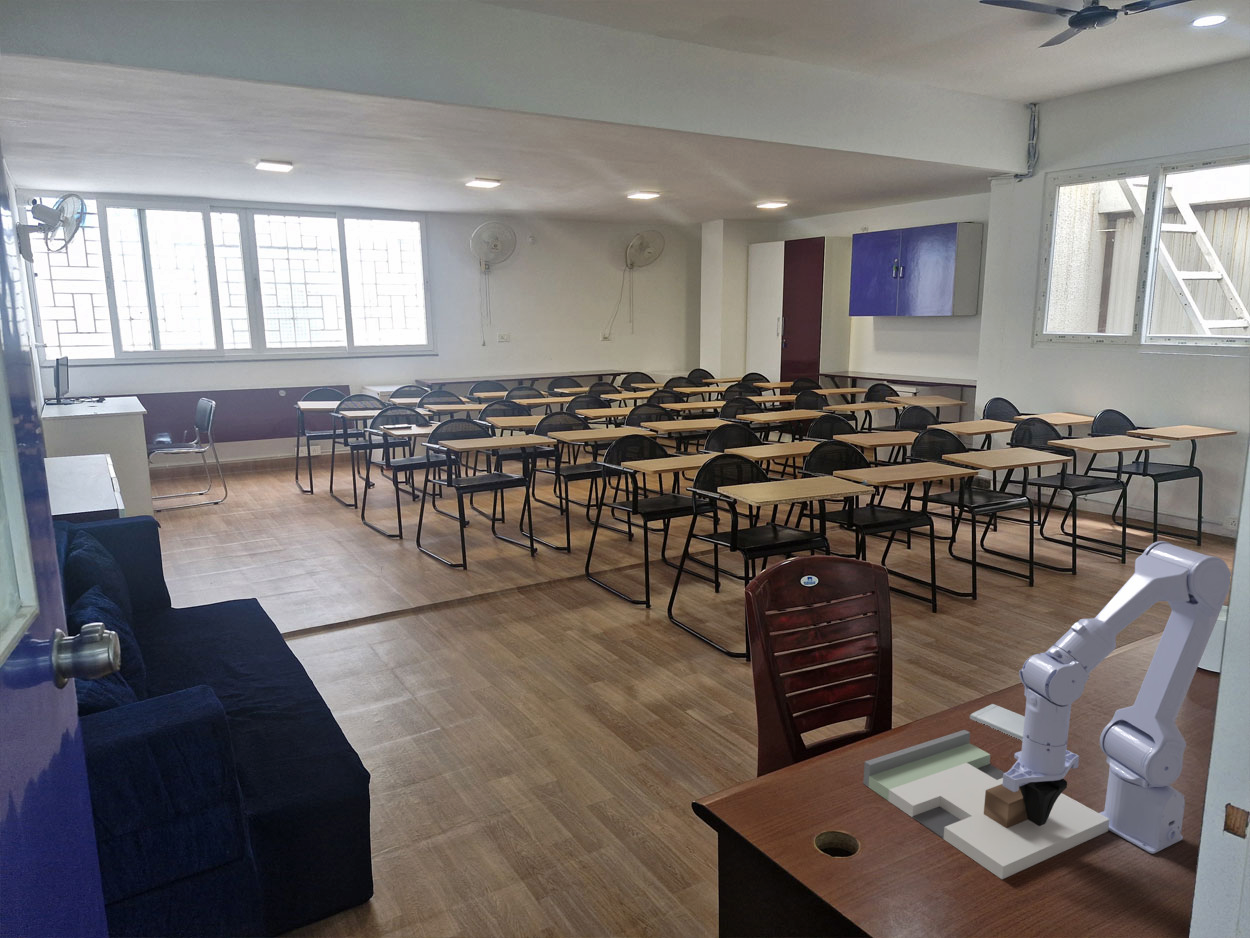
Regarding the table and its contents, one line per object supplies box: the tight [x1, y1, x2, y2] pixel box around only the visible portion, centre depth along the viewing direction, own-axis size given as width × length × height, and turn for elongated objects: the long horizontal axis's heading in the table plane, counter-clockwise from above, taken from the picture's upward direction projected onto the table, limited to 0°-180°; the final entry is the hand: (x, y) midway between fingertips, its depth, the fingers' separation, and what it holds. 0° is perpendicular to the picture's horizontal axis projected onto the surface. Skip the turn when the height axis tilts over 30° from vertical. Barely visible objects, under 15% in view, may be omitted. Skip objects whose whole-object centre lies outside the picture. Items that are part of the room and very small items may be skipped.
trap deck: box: [862, 729, 1110, 880], centre depth 127 cm, size 27×24×4 cm
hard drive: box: [969, 703, 1025, 742], centre depth 154 cm, size 2×8×12 cm
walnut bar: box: [984, 784, 1028, 828], centre depth 122 cm, size 4×8×4 cm, turn 117°
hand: (1036, 821), depth 119 cm, fingers closed
